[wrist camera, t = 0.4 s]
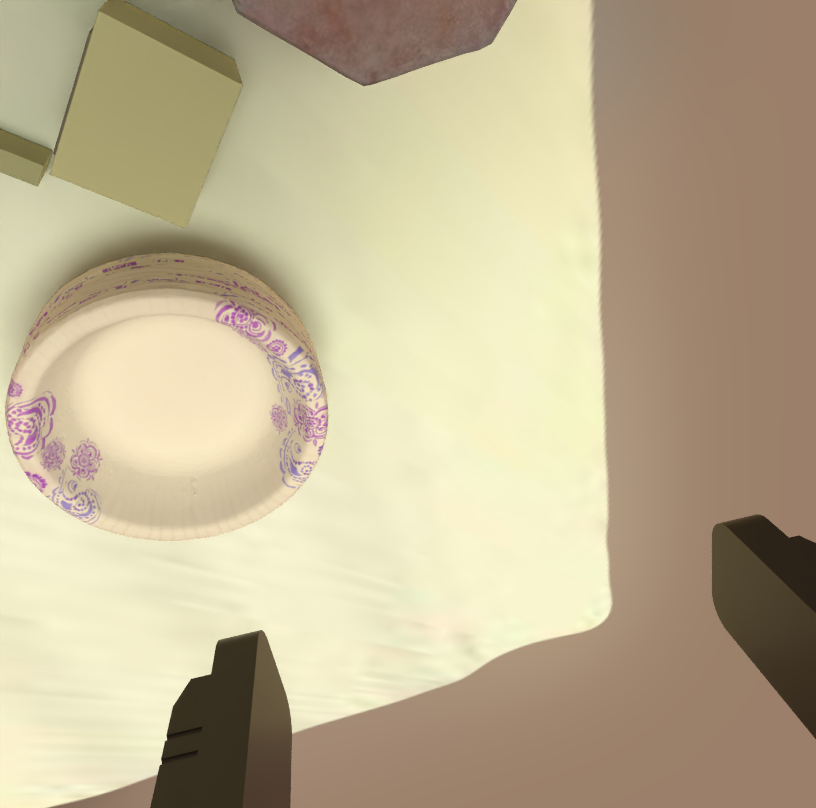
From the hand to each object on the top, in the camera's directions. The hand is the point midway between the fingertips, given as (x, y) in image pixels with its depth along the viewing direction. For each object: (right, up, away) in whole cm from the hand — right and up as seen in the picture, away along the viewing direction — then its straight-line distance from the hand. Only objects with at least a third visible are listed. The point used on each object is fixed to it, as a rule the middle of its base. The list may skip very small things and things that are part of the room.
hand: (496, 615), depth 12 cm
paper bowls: (-15, +7, +28) cm, 33 cm away
